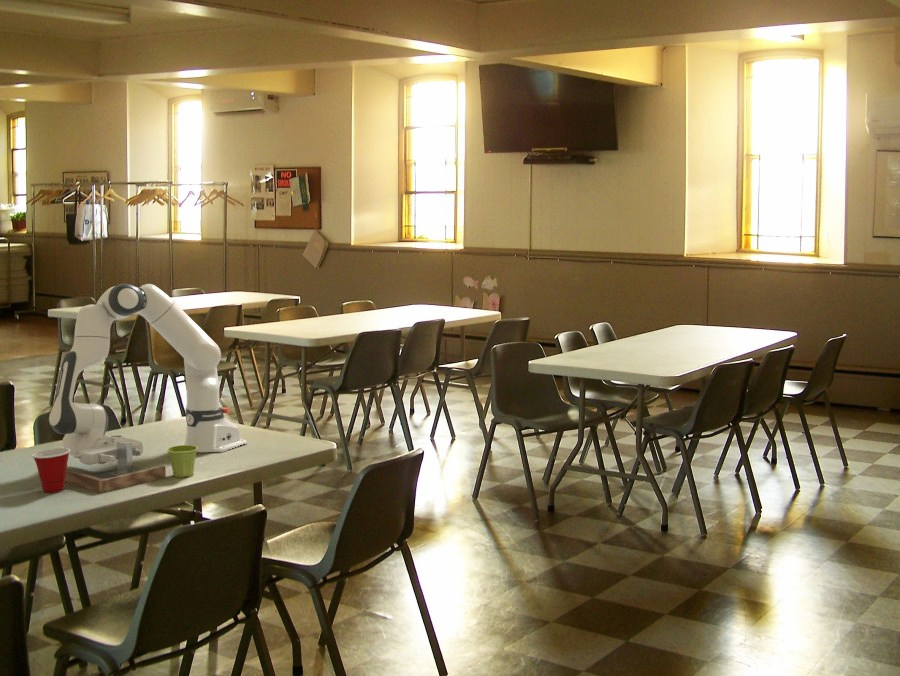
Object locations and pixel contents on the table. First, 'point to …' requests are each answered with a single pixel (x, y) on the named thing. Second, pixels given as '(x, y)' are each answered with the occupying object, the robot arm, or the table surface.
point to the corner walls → (115, 479)
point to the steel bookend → (123, 459)
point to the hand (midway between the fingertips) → (126, 456)
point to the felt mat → (106, 475)
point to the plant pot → (182, 460)
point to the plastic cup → (52, 468)
